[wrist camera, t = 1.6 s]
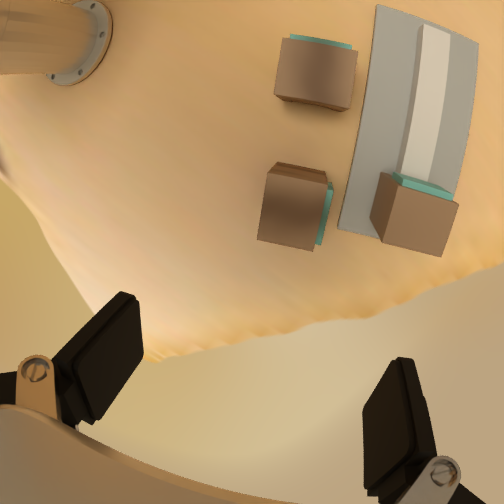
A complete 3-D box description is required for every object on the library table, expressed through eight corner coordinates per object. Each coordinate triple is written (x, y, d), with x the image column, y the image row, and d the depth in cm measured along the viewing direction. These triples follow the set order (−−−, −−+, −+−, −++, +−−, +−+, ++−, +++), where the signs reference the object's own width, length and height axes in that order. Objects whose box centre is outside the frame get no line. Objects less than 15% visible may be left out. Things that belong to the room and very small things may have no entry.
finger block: (318, 226, 33) (319, 253, 26) (268, 216, 33) (256, 239, 27) (330, 173, 30) (335, 186, 24) (277, 162, 31) (267, 172, 25)
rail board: (337, 226, 32) (342, 256, 25) (375, 6, 22) (391, -23, 15) (433, 249, 31) (458, 283, 24) (475, 44, 20) (510, 31, 13)
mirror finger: (282, 100, 28) (273, 94, 22) (290, 50, 26) (283, 31, 19) (341, 111, 27) (349, 108, 21) (349, 61, 25) (359, 45, 19)
